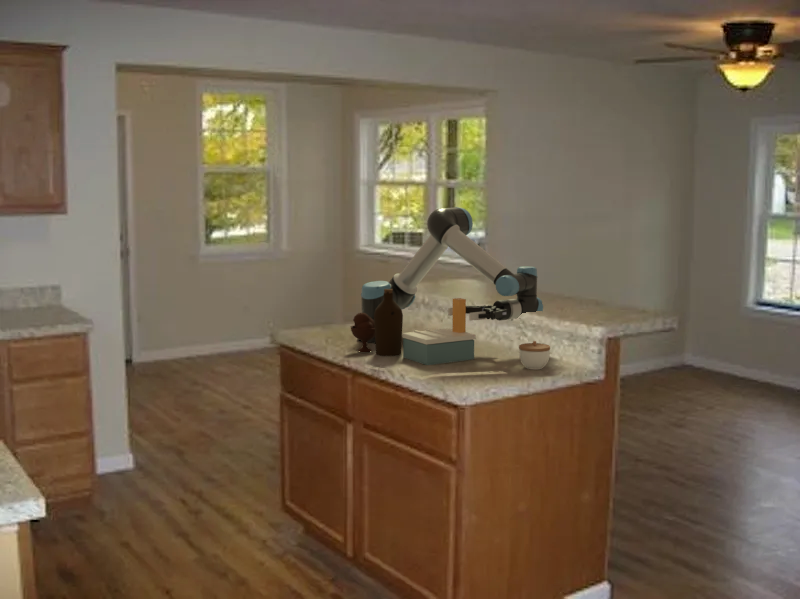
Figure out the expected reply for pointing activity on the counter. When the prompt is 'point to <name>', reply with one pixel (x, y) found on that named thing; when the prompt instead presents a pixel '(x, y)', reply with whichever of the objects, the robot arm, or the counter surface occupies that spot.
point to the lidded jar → (534, 355)
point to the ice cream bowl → (363, 330)
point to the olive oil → (388, 326)
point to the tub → (438, 351)
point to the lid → (446, 334)
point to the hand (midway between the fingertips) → (459, 314)
